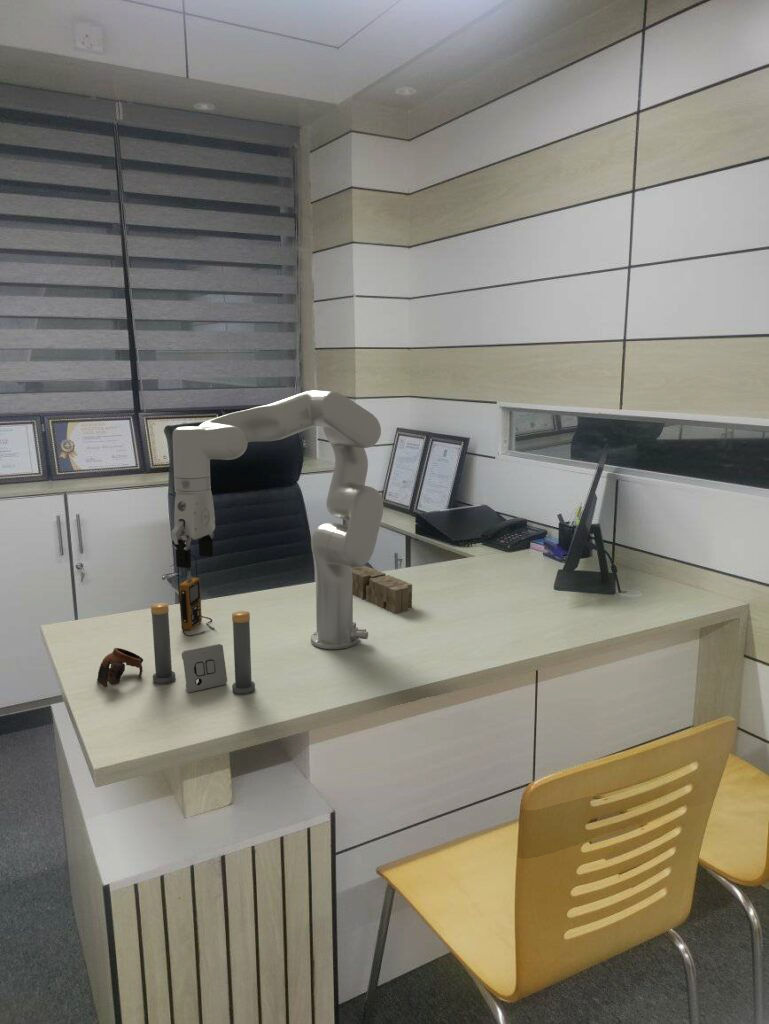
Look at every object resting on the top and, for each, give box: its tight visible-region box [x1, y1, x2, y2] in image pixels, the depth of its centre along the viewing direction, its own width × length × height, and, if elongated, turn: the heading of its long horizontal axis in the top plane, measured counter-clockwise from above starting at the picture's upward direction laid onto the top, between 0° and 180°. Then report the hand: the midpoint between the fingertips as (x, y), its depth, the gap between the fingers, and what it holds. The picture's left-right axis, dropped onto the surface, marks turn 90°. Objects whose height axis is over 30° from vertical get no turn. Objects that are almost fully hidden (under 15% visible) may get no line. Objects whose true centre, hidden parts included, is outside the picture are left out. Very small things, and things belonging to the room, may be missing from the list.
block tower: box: [351, 565, 413, 615], centre depth 228 cm, size 8×8×29 cm
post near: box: [231, 610, 256, 696], centre depth 164 cm, size 5×5×18 cm
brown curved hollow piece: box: [96, 647, 144, 688], centre depth 170 cm, size 12×10×8 cm
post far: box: [150, 602, 176, 686], centre depth 169 cm, size 5×5×18 cm
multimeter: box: [177, 554, 218, 637], centre depth 202 cm, size 15×10×20 cm
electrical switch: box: [181, 643, 228, 693], centre depth 168 cm, size 9×5×9 cm, turn 121°
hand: (195, 561), depth 162 cm, fingers open, 9 cm apart
